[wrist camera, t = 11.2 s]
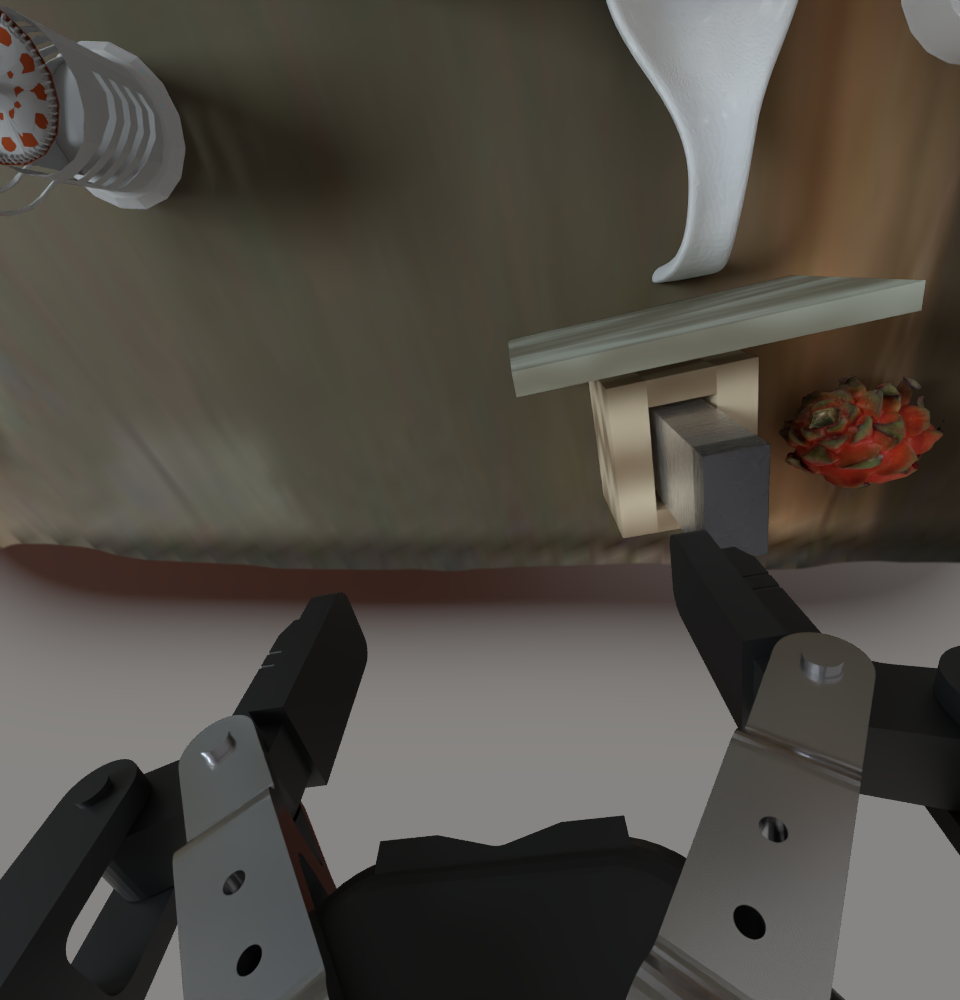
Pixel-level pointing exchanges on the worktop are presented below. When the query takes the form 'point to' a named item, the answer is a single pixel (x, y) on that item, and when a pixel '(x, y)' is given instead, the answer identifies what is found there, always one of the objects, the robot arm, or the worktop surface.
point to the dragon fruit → (860, 433)
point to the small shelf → (688, 366)
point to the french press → (85, 118)
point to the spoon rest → (708, 104)
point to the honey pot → (935, 26)
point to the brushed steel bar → (712, 473)
